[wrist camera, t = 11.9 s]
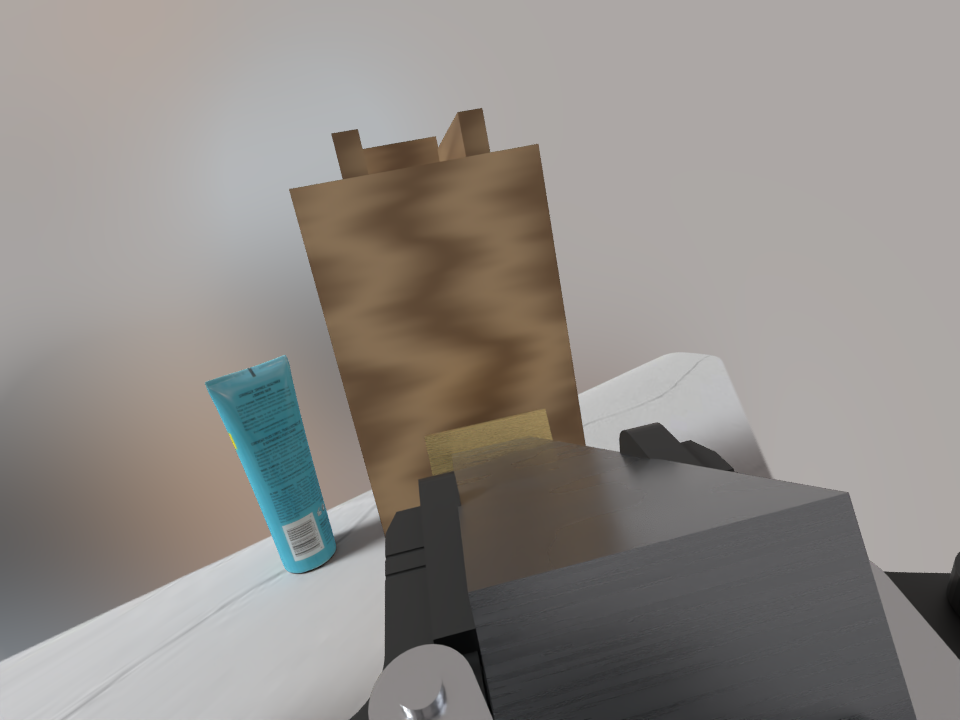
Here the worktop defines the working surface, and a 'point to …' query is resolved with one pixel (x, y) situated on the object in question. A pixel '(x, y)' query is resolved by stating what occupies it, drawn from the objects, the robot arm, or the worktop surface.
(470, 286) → the post
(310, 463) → the tube
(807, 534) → the grey long block
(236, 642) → the worktop surface
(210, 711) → the worktop surface
